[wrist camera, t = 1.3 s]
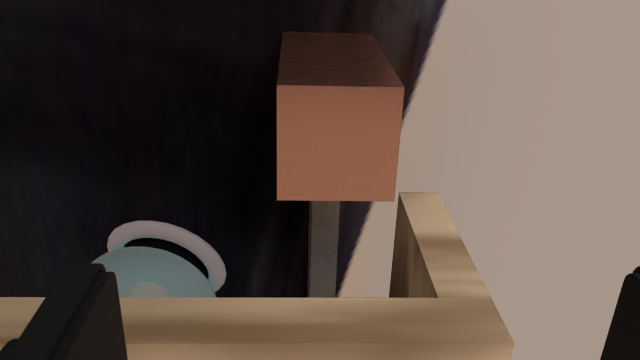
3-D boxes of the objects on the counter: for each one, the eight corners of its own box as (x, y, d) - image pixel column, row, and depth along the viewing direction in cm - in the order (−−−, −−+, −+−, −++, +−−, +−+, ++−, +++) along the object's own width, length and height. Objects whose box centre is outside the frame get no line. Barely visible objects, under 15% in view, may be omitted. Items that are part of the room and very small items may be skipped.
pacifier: (119, 194, 29) (79, 284, 31) (78, 257, 24) (33, 362, 26) (249, 249, 31) (204, 331, 33) (241, 321, 25) (187, 415, 27)
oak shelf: (21, 188, 29) (-135, 344, 18) (437, 192, 30) (513, 343, 19) (56, 359, 33) (-53, 562, 23) (416, 358, 34) (469, 552, 24)
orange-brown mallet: (282, 31, 26) (276, 84, 18) (370, 33, 26) (404, 87, 18) (281, 372, 34) (277, 514, 26) (348, 371, 35) (365, 512, 26)
